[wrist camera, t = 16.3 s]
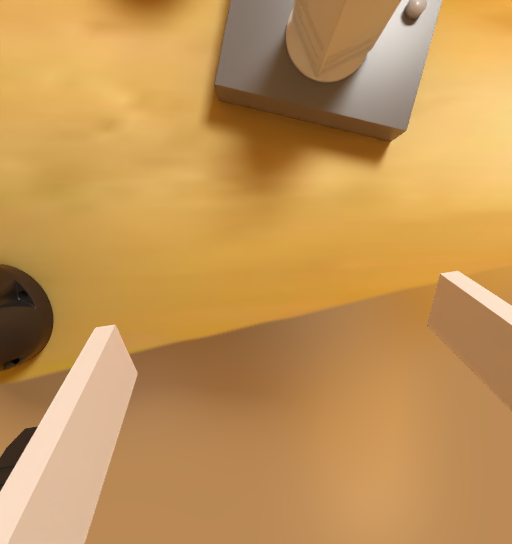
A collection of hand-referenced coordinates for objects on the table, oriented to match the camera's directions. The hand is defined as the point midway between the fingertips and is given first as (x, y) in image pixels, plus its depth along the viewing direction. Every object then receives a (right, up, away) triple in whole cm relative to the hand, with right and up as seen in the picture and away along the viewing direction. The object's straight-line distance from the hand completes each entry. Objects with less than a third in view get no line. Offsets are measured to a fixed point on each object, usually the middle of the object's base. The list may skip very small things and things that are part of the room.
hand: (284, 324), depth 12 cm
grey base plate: (+7, +30, +26) cm, 40 cm away
